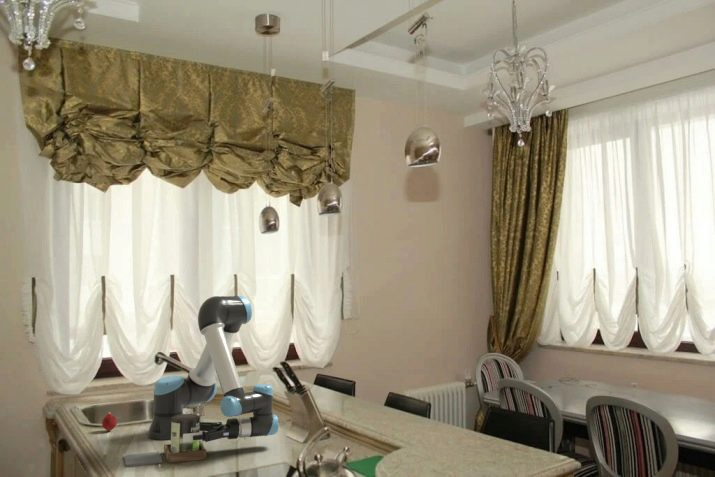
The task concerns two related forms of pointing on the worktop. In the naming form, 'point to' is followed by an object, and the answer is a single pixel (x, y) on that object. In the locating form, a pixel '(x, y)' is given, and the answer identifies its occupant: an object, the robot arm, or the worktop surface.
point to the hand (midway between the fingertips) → (180, 433)
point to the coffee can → (184, 432)
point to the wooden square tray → (184, 454)
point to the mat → (142, 459)
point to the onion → (109, 422)
